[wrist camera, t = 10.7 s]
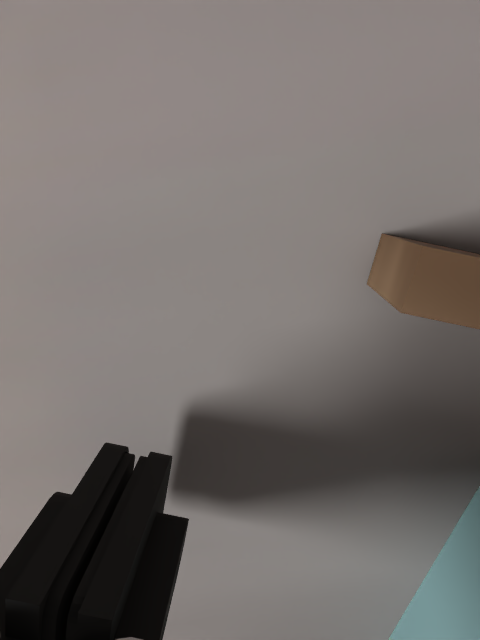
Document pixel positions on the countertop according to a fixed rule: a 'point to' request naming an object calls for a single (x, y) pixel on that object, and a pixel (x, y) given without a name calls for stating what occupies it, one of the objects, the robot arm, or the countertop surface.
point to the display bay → (428, 280)
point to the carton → (449, 588)
